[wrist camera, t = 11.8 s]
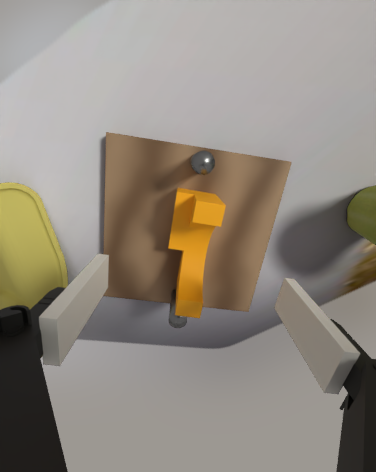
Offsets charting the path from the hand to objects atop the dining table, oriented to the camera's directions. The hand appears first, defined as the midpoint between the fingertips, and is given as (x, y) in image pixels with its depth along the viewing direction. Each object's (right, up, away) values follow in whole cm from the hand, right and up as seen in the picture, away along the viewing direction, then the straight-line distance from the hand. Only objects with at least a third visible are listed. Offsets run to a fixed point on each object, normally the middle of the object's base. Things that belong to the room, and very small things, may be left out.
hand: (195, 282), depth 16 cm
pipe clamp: (-1, +3, +10) cm, 11 cm away
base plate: (-1, +4, +11) cm, 12 cm away
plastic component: (-23, 0, +13) cm, 26 cm away
